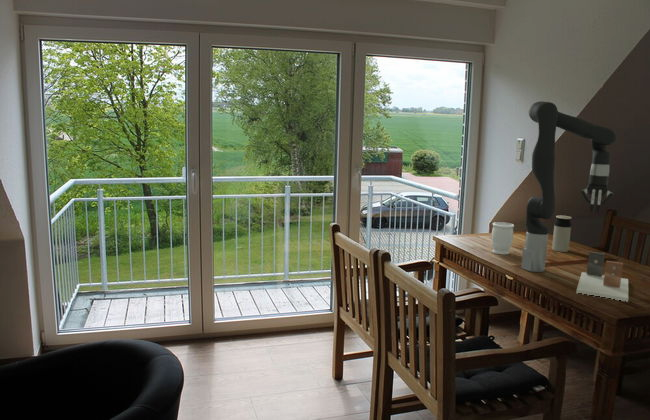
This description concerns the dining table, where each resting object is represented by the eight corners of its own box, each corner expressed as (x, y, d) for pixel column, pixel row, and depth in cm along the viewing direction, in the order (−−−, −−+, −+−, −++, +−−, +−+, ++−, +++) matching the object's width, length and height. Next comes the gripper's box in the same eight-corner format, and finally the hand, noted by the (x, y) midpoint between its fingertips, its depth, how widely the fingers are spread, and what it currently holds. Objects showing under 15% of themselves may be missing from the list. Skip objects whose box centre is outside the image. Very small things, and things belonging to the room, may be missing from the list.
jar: (504, 256, 267) (507, 227, 264) (485, 252, 275) (488, 223, 272) (515, 253, 274) (518, 224, 271) (497, 249, 282) (499, 221, 279)
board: (581, 275, 239) (581, 271, 239) (627, 282, 231) (628, 279, 230) (576, 293, 214) (576, 289, 214) (627, 302, 206) (628, 298, 205)
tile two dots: (603, 284, 221) (606, 260, 219) (619, 286, 218) (623, 263, 216) (603, 285, 220) (606, 261, 218) (619, 287, 217) (623, 263, 215)
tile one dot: (586, 273, 235) (589, 251, 234) (601, 275, 233) (604, 253, 231) (586, 274, 234) (589, 252, 232) (601, 276, 231) (604, 254, 229)
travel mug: (569, 252, 278) (573, 218, 275) (552, 251, 280) (556, 217, 277) (567, 249, 286) (571, 216, 283) (551, 247, 288) (554, 214, 285)
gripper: (581, 173, 239) (577, 212, 242) (616, 176, 233) (611, 215, 236) (583, 172, 246) (578, 209, 249) (616, 174, 239) (611, 213, 242)
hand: (594, 212), depth 242 cm, fingers closed
